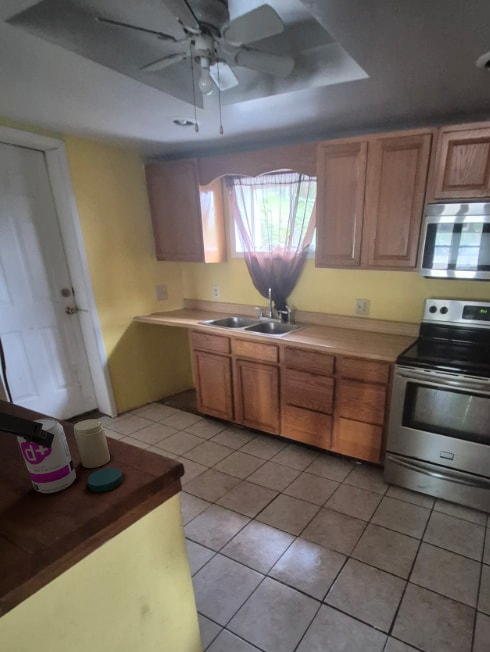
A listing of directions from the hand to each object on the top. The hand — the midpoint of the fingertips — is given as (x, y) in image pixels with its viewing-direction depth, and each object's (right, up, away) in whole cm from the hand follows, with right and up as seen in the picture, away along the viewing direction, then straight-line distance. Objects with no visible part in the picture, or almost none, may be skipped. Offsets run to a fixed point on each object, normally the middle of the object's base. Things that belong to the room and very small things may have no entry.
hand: (17, 440), depth 74 cm
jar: (+5, -7, +20) cm, 22 cm away
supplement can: (0, -11, +11) cm, 16 cm away
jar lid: (+12, -10, +11) cm, 19 cm away
